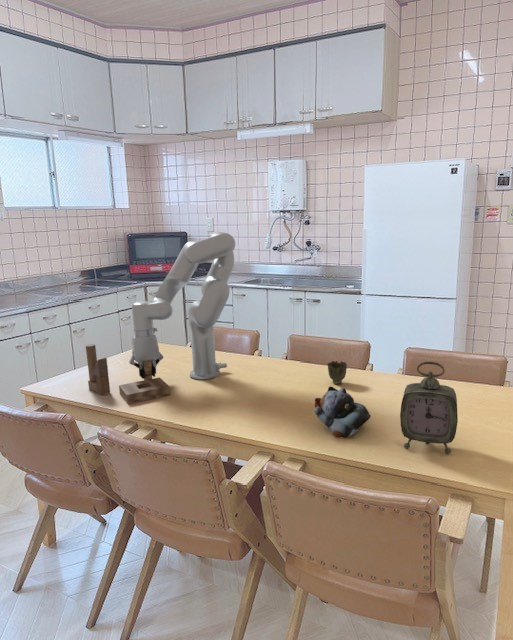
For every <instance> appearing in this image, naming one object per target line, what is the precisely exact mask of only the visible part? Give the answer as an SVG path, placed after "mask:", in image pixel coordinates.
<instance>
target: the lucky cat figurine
mask: <svg viewBox="0 0 513 640" xmlns="http://www.w3.org/2000/svg"><path fill="white" fill-rule="evenodd" d="M327 388H328V389H327V391H326V392H325V393H324V394H323V396H322V397H316V398H314V410H313V412H314V415H315V416H316V417H317V419H319V420H320V421H321V423H323V424H324V425H325V426H326V427H327V428H328V429H329V430H330V431H331V434H332V435H333V436H335V437H336V438H340V437H343V438H342V439H347V438H350V437H351V436H353V435H355V434H356V433H357V432H358V430H359V429H360V428H361V427H362V426H364V425H365V424H366V423H367V422H368V421H369V420H370V418H371V416H372V415H371V414H370V412H369V410H368V409H367V408H366V406H365V405H363V404H362V403H359V402H355V399H354V398H353V397H352V395H351V394H350V393H348V392H347V391H346V390H347V389H346V388H345V387H341V388H340V389H336V388H335V387H334V386H328V387H327Z"/></svg>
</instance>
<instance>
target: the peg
mask: <svg viewBox="0 0 513 640" xmlns="http://www.w3.org/2000/svg"><path fill="white" fill-rule="evenodd" d="M142 367H143V369H144V377H145V378H144V379H143V381H144V380H149V379H153V376H152V360H148V361H144V362H143V366H142Z"/></svg>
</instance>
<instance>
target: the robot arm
mask: <svg viewBox="0 0 513 640" xmlns="http://www.w3.org/2000/svg"><path fill="white" fill-rule="evenodd" d="M235 247H236V241H235V238H234V237H233V235H231V234H229V233H227V232H220V231H217V232H214V233H212V234H211V235H210V237H208V238H205V239H202V240H198V241H195V240H189V241H188V242H186V243H185V244H184V245H183V247H182V248H181V250H180V252H179V254H178V256H177V258H176V259H175V262H174V263H173V265H172V267H171V268H170V270H169V272H168V273H167V275H166V276H165V278H164V279H163V281H162V282H161V283H160V285H159V287H158V289H157V291H156V292H155V294H154V296H153V298H152V300H151V302H149V301H147V300H146V301H144V300H143V301H136V302H134V303H132V305H131V310H132V321H133V334H134V336H132V338H131V339H132V340H131V341H132V342H131V357H130V359H129V362H128V363H129V365H132V366H135V368H137V369H138V373H139V374H138V375H139V377H141V379H142V380H144V378H145V377H144V369H143V367H142V366H143V362H144V361H148V360H152V378H154V377H156V374H157V365H158V364H159V363H160V361H162V360H163V359H164V356H163V354H162V353H161V352H160V348H159V342H158V338H157V335H156V332H158V328H157V327H154V320H156V321H164V320H167V319H169V318H171V317H172V315H173V312H174V311H173V306H172V303H173V300H174V299H175V297H176V296H177V294H178V293H179V292H180V290H181V289H183V288H184V287H186V286H187V285H188V284H189V282H190V281H191V278H192V276H193V274H194V273H195V272H196V269H197V268H198V266H199V265H200V264H205V263H207V262H210V261H212V263H211V266H210V269H209V271H208V272H207V275H206V277H205V278H204V280H203V282H202V283H201V294H202V297H201V299H199V300H197V299H196V300H194V302H192V303H191V304H190V305H189V307H188V312H187V313H188V314H187V315H188V320H189V321H188V322H189V327H190V328H189V329H190V339H191V342H190V343H191V352H192V353H191V355H192V357H191V358H192V369H193V370H191V371H190V372H189V377H190V378H192V379H194V380H203V381H204V380H210V379H214V378H217V377H219V376H220V375H221V369H224V368H227V367H228V365H227V363H222V362H217V361H216V360H217V359H216V347H215V346H216V345H215V329H214V326H215V324H216V323H217V322H218V320H219V319H220V317H221V315H222V312H223V310H224V309H225V307H226V304H227V302H228V300H229V297H230V286H229V284H228V281H229V279H230V276H231V274H232V271H233V269H234V265H235V255H234V250H235Z"/></svg>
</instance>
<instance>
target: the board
mask: <svg viewBox="0 0 513 640" xmlns="http://www.w3.org/2000/svg"><path fill="white" fill-rule="evenodd" d="M118 390H119V395H120V396H121V397H122V399H123V400H124V401H125V403H126V404H127V405H130V404H135V403H138V402H139V401H140V402H145V401H148V400H154V399H157V398H162V397H167V395H168V396H170V395H171V388H170V385H169V384H168V383H166V382H165V381H164V379H162V378H161V377H160V376H159V377H156V378H154V377H153V378H152V379H149V380H144V379H143V380H140V381H133V382H129V383H126V384H123V383H122V384H119V385H118ZM153 398H154V399H153ZM134 402H135V403H134ZM140 402H139V403H140Z"/></svg>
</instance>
